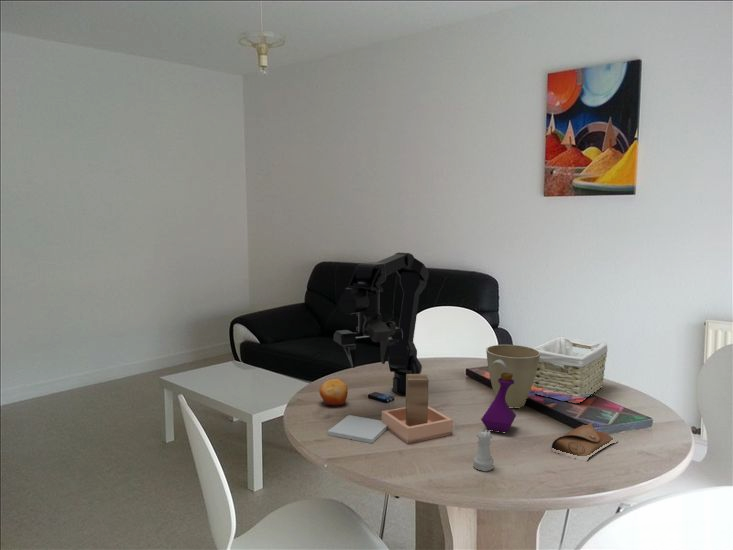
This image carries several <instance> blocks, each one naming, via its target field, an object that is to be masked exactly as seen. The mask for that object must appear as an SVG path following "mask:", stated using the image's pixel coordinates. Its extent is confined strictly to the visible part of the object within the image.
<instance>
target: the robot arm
mask: <svg viewBox="0 0 733 550" xmlns="http://www.w3.org/2000/svg"><path fill="white" fill-rule="evenodd" d="M393 273H397V275H398V277H399V284H400V286H401V289H402V291H403V295H402V302H401V308H400V309H401V311H400V317H399V322H398V323H399V324H398V326H397V325H396V322H395V321H392V320H391V321H387V322H384V321H383V315H382V314H381V313H380V300H381V299H380V298H381V297H380V293H381V292H384V289H383V287H382V286H381V284H382V283H384V282H385V281H386V280H387V276H389V275H391V274H393ZM429 277H430V273H429V270H428V268H427V266H426V265H425V264H424V263H423V262H422V261H420V260H418V259H417V258H415V257H414V255H413V254H412V253H411V252H397V253H394V254H393V255H391V256H388V257H385V258H384V259H383V258H382V259H381V260H379V261H376V262H361V263H360V262H359V263H358V264H357V265H356V266H355V269H354V271H353V273H352V276H351V278H350V281H349V283H348V285H347V287H345V288H344V292H343V293H342V294H341V295H340V296H339V298H338V302H337V304H338V305H337V306H338V308H339V311H340V312H341V313H342V314H344V315H347V316H350V315H353V314H356V315H355V316H357V317H358V321H357V322H358V324H357V325H358V326H356V327H355V328H356V329H355V331H356V332H353V331H351V330H348V329H343V330H335V332H334V334H333V342H335V343H337V344H338V345H340V346H342V348H343V350H344V352H345V353H346V356H347V359H348V361H349V363H350V366H351V368H353V369H355V368H356V351H355V350H356V348H357V344H355V342H356V340H365V339H370V341H372V342H374V343H380V345H379V346H380V347H379V348H380V360H381V364H382V365H385V364H386V360H387V363H388V367H389V372H390V373H393V378H392V388H391V391H392V392H394V393H395V394H397V395H399V396H402V397H403V396H406V374H422V370H423V365H422V364H421V362H420V360H419V359H418V357H417V356H418V349H417V348H416V345H415V343H414V337H415V331H416V324H417V322H416V321H417V316H418V308H419V301H420V294H422V292H423V291H424V290H425V289H426V287H427V283H428V280H429Z"/></svg>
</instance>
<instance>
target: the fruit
mask: <svg viewBox="0 0 733 550" xmlns="http://www.w3.org/2000/svg"><path fill="white" fill-rule="evenodd" d="M318 391H319V394H320V397H321V399H322V400H323V402H324V404H325V405H326V406H342V405H344V404H345V403H346V401H347V398H348V386H347V383H346V382H344V381H343V380H341V379H340V378H331V379H328V380H326V381H325V382H323V383H322V384H321V386H320V387H319V390H318Z"/></svg>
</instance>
